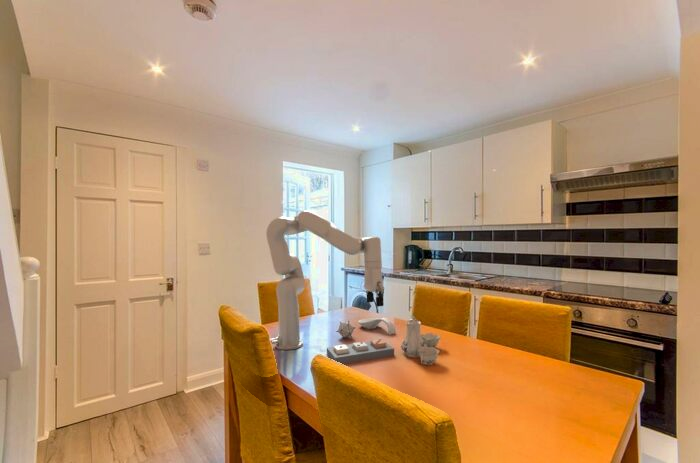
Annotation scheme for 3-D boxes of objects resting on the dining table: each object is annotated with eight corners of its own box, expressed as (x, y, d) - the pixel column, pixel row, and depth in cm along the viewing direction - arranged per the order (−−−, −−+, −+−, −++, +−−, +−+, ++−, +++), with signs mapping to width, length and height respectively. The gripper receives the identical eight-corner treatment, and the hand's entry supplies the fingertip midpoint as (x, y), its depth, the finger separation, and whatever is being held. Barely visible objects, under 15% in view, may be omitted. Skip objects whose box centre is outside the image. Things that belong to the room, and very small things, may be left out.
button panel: (335, 365, 127) (335, 357, 127) (326, 354, 138) (326, 347, 138) (394, 355, 136) (394, 348, 136) (381, 346, 147) (381, 339, 147)
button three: (375, 349, 137) (375, 343, 137) (370, 346, 141) (370, 340, 141) (386, 348, 138) (386, 342, 138) (381, 344, 143) (381, 338, 143)
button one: (337, 355, 131) (337, 349, 131) (333, 351, 135) (333, 345, 135) (348, 354, 132) (348, 347, 132) (344, 350, 137) (344, 344, 137)
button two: (356, 352, 134) (356, 346, 134) (352, 348, 138) (352, 342, 138) (368, 351, 135) (367, 345, 135) (363, 347, 140) (363, 341, 140)
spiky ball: (349, 346, 159) (355, 333, 154) (333, 340, 159) (338, 326, 154) (352, 332, 166) (358, 319, 161) (337, 326, 167) (342, 313, 161)
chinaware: (443, 373, 121) (447, 330, 121) (398, 366, 125) (402, 323, 124) (438, 347, 149) (441, 311, 148) (401, 342, 152) (404, 307, 152)
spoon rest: (354, 327, 178) (354, 314, 178) (369, 323, 186) (369, 310, 186) (385, 337, 160) (385, 322, 160) (401, 332, 168) (400, 318, 168)
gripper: (357, 264, 148) (359, 301, 148) (373, 267, 132) (375, 309, 132) (372, 263, 151) (374, 299, 151) (389, 265, 135) (392, 306, 135)
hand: (375, 304), depth 141 cm, fingers open, 9 cm apart
